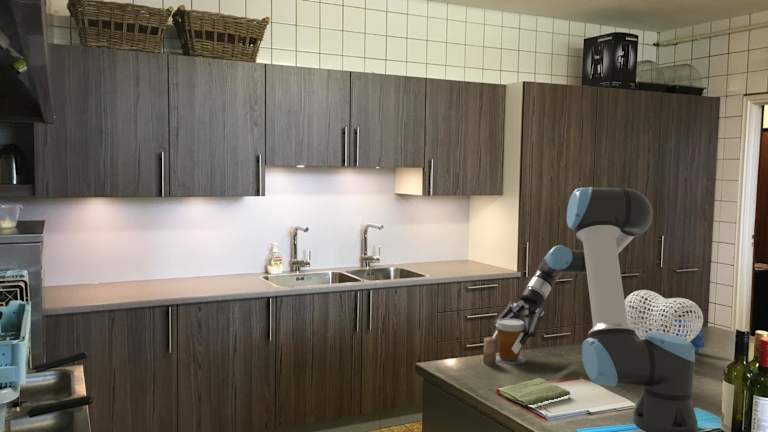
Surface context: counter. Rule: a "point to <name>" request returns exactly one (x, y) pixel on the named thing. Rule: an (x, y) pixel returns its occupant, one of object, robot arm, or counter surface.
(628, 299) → the heart
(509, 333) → the disposable coffee cup
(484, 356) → the walnut peg
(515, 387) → the washcloth
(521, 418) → the counter surface
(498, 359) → the board
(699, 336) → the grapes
